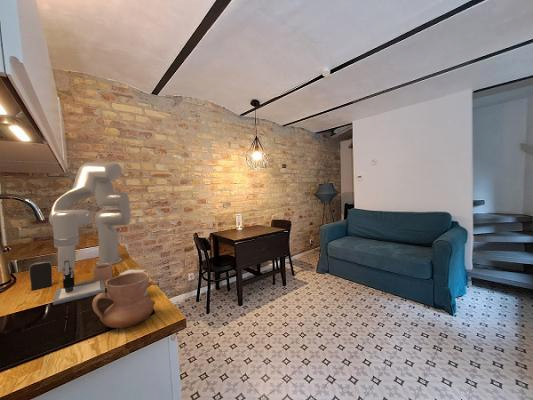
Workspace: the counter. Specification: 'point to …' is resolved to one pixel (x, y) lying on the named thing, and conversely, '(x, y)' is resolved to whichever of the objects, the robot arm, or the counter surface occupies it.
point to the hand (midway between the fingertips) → (69, 285)
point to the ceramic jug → (126, 300)
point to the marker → (70, 287)
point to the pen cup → (103, 272)
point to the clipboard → (79, 291)
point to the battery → (40, 275)
